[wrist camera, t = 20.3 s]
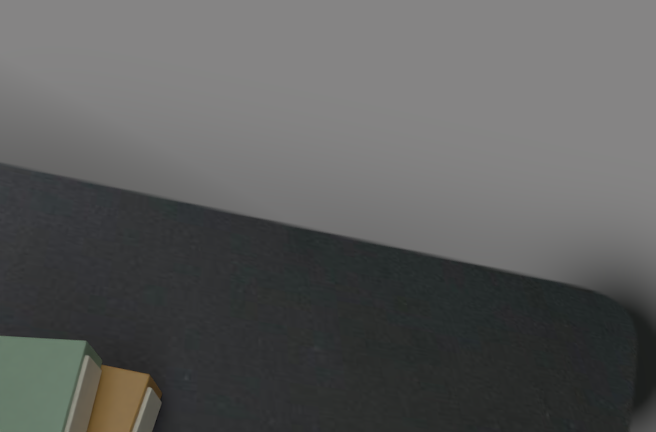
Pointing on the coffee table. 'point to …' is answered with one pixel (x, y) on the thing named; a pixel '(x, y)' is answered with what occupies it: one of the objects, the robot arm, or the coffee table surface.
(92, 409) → the book stack
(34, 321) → the coffee table surface
